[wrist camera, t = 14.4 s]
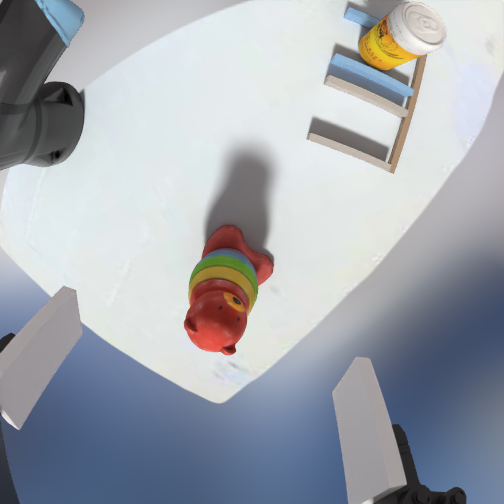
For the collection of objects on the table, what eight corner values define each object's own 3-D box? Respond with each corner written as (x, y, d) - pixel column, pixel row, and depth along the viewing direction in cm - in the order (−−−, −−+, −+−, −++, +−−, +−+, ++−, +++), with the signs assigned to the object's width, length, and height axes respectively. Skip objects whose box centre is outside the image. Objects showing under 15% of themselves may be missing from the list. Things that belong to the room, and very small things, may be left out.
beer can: (353, 33, 29) (392, -7, 15) (390, 36, 28) (440, 5, 14) (361, 70, 31) (406, 44, 18) (398, 72, 31) (454, 53, 17)
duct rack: (306, 139, 36) (308, 139, 34) (345, 12, 27) (349, 6, 25) (391, 172, 37) (397, 175, 35) (424, 51, 28) (432, 48, 26)
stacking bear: (279, 266, 44) (282, 345, 28) (234, 303, 47) (218, 384, 31) (228, 218, 42) (202, 277, 25) (185, 261, 45) (144, 331, 29)
